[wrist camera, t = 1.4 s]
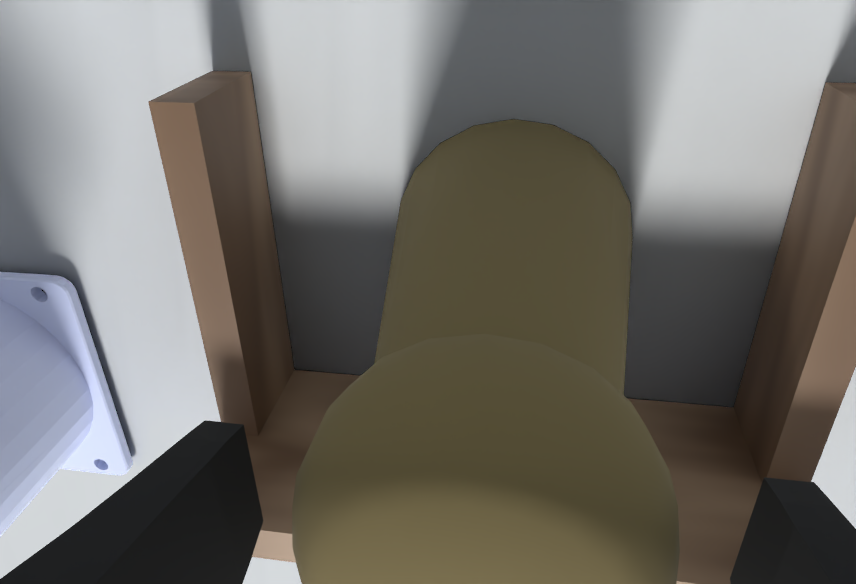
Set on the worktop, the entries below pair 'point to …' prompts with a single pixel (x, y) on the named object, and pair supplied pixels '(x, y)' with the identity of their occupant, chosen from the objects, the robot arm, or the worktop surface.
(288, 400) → the walnut bay
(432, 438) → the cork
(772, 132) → the worktop surface
